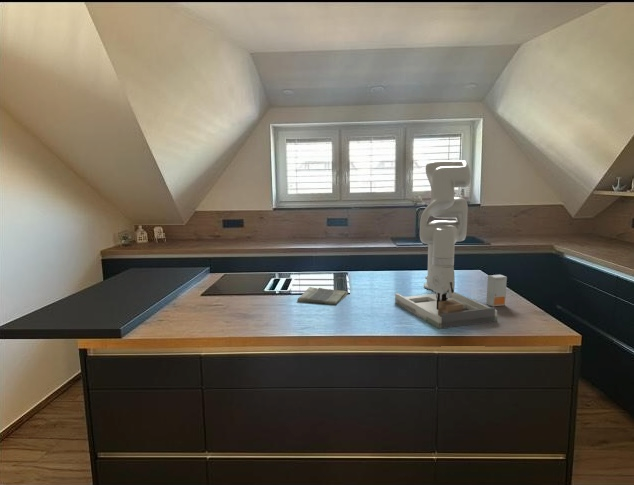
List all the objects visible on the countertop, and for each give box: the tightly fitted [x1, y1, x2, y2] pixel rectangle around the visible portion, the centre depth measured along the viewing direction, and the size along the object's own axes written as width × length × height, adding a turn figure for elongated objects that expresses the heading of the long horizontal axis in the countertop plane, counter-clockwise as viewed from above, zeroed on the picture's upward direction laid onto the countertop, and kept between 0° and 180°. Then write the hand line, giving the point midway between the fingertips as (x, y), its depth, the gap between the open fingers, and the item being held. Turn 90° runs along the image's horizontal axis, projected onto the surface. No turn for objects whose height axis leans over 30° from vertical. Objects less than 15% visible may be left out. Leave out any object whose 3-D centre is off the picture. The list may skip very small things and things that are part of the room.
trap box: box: [394, 291, 498, 330], centre depth 161 cm, size 32×24×5 cm
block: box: [438, 300, 463, 315], centre depth 149 cm, size 6×6×5 cm
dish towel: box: [297, 286, 349, 306], centre depth 181 cm, size 19×18×3 cm
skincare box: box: [485, 274, 508, 307], centre depth 167 cm, size 6×4×12 cm
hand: (441, 309), depth 154 cm, fingers closed
